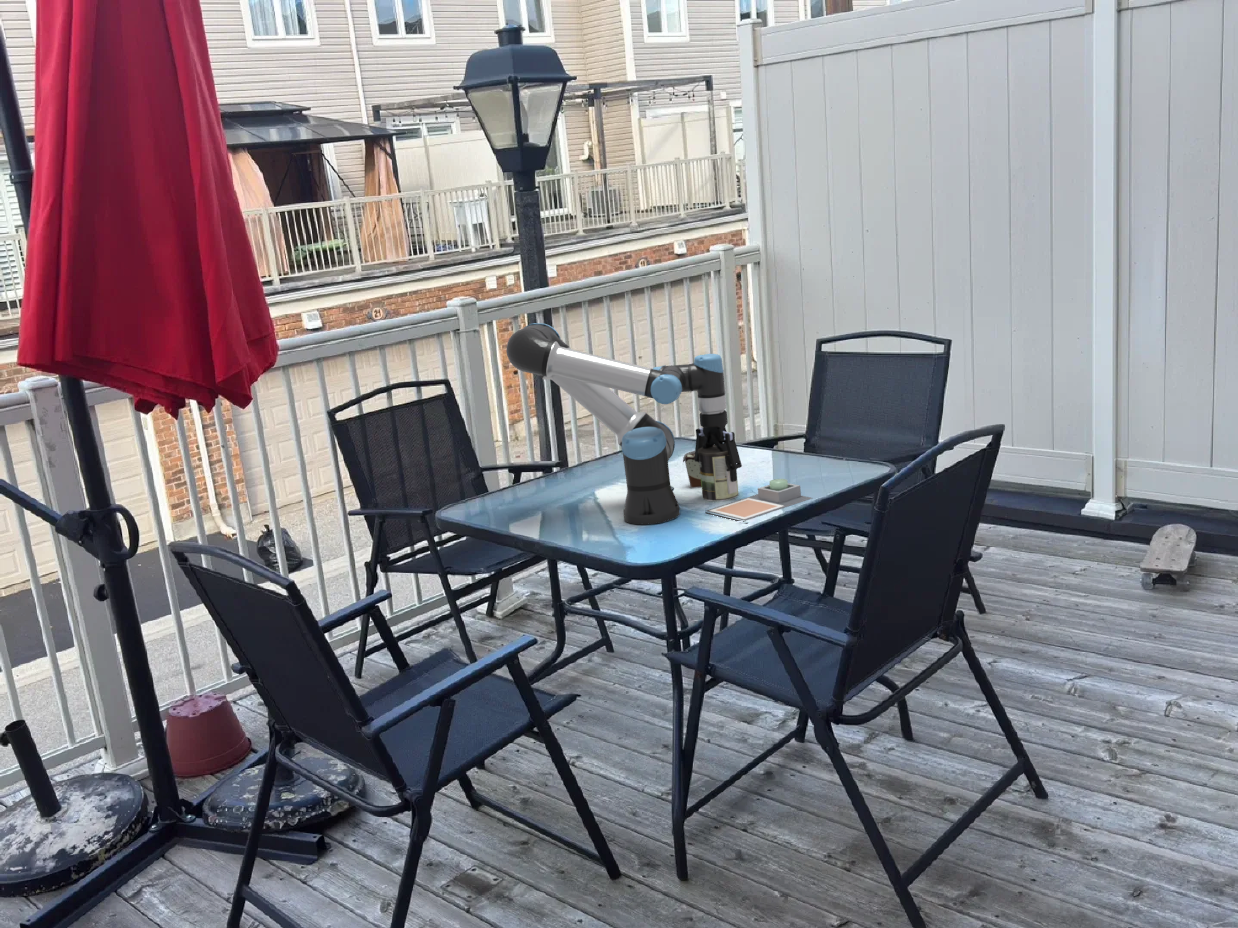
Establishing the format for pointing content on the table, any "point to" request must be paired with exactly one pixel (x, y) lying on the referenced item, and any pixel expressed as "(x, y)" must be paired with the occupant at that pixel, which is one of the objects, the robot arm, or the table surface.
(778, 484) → the button
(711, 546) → the table surface
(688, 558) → the table surface
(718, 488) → the coffee can
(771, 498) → the pad with button box
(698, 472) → the food container
